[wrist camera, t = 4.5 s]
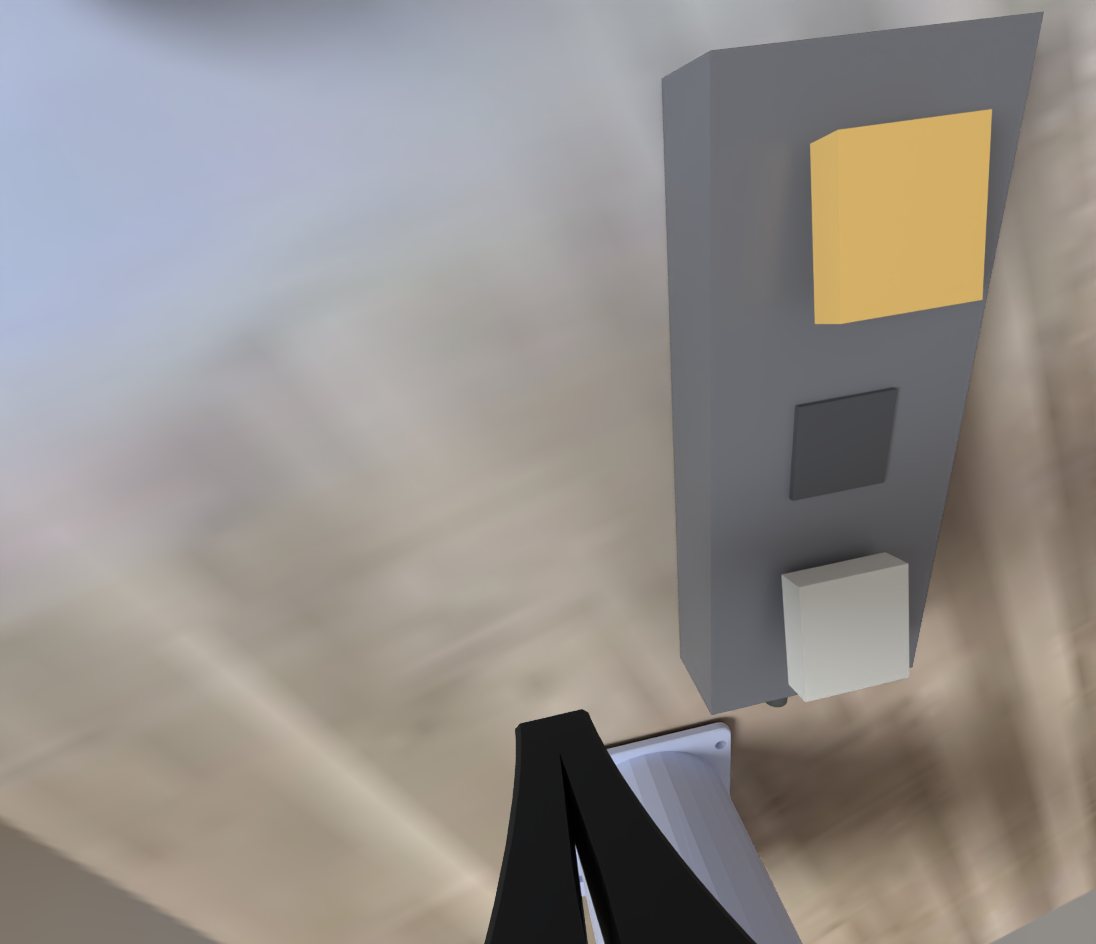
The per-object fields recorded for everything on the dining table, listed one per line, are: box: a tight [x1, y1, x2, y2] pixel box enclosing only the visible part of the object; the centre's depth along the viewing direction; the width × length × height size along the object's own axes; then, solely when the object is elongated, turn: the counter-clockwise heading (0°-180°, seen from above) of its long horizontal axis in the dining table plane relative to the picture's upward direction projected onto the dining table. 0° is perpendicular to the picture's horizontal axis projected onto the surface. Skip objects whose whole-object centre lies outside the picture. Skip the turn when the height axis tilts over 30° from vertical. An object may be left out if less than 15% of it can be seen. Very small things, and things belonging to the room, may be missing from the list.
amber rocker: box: [810, 109, 992, 324], centre depth 13 cm, size 4×4×1 cm
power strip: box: [662, 12, 1044, 715], centre depth 19 cm, size 23×8×3 cm, turn 7°
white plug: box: [781, 552, 909, 702], centre depth 19 cm, size 4×4×1 cm
